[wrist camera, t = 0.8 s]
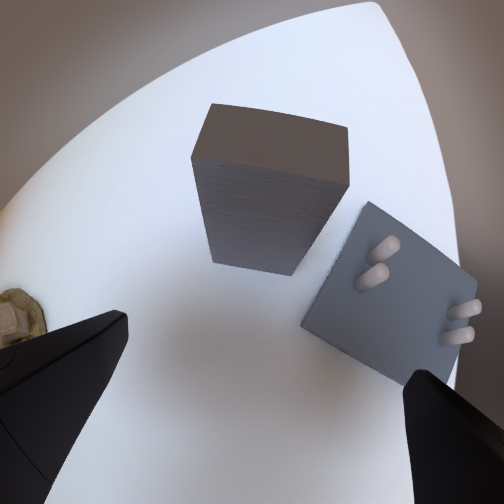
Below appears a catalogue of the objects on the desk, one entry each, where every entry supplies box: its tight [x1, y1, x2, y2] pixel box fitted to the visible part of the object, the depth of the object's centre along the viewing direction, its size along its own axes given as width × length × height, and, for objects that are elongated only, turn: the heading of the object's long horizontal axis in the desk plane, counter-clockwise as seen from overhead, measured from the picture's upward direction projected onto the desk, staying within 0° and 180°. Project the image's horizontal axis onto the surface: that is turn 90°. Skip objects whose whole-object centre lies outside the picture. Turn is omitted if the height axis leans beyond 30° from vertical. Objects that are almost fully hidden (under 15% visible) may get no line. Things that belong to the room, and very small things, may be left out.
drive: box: [191, 103, 350, 276], centre depth 17 cm, size 3×6×12 cm, turn 80°
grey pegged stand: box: [300, 201, 482, 386], centre depth 19 cm, size 12×14×5 cm
